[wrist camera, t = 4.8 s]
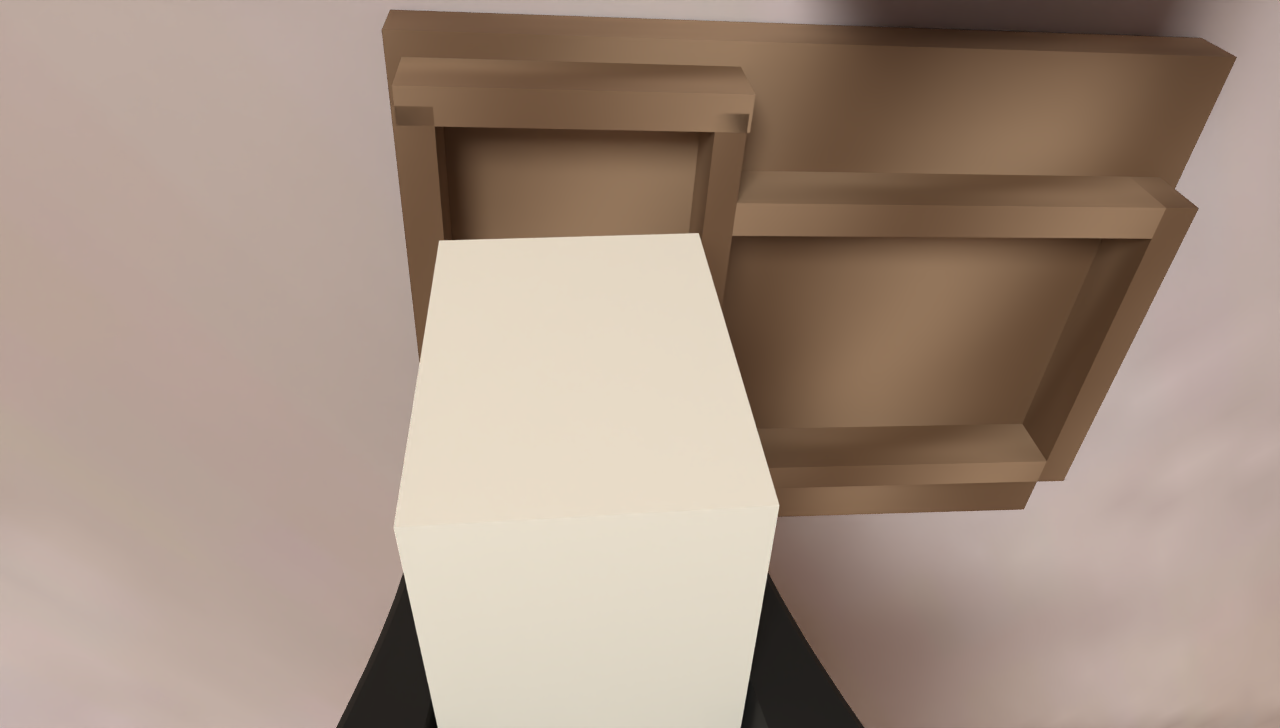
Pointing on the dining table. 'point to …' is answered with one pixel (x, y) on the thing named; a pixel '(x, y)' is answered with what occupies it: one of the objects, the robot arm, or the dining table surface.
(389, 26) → the jig
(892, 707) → the dining table surface
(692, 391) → the cream rectangular block
